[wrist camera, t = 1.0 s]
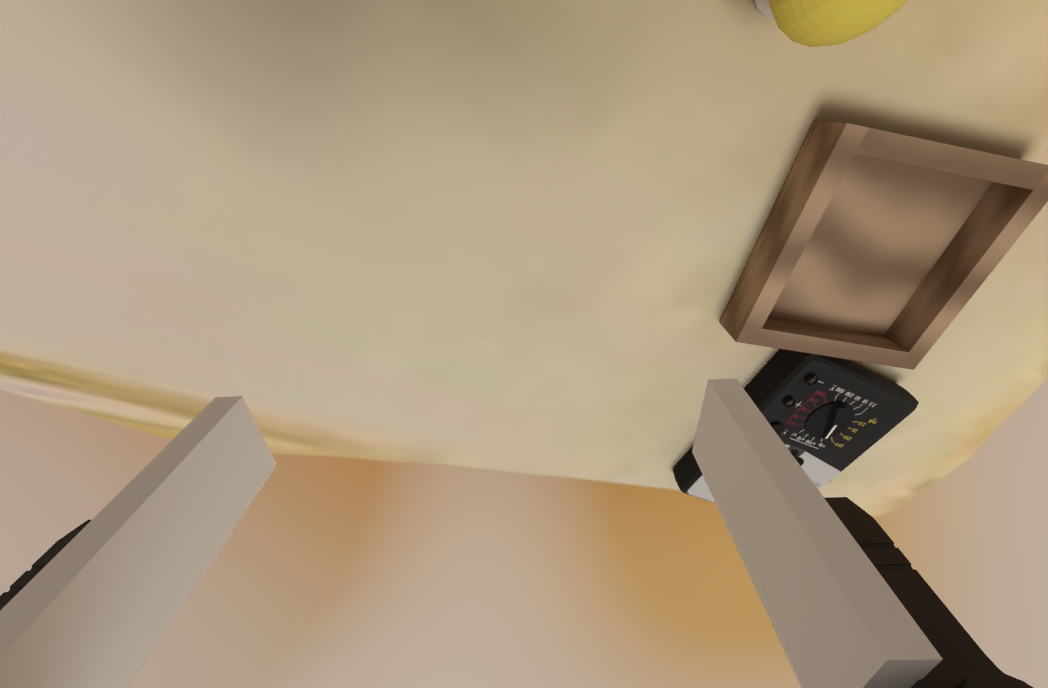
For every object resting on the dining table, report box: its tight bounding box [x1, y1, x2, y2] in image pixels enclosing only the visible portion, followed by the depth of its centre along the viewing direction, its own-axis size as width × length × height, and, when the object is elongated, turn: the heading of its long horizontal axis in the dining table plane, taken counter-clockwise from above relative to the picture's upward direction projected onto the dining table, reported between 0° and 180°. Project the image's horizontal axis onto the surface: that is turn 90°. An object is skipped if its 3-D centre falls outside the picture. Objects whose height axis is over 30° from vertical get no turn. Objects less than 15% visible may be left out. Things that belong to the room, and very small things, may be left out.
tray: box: [720, 120, 1048, 370], centre depth 32 cm, size 16×16×3 cm
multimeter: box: [673, 349, 918, 503], centre depth 42 cm, size 13×19×5 cm
